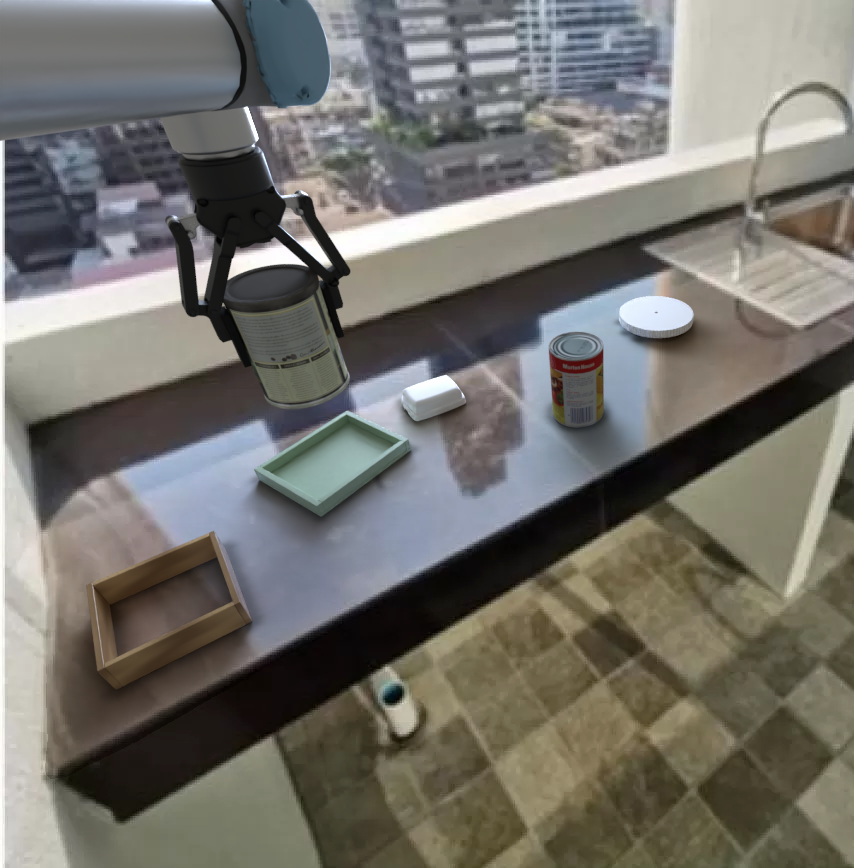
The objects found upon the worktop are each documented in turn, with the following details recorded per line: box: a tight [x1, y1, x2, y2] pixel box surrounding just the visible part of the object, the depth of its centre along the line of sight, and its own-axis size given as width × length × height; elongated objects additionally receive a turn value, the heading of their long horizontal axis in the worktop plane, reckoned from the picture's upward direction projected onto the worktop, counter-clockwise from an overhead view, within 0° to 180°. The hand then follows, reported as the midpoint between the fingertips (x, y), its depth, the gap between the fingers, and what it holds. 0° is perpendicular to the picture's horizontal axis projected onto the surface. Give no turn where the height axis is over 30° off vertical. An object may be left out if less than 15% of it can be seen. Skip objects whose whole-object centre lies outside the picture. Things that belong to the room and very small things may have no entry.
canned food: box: [548, 331, 605, 429], centre depth 90 cm, size 8×8×12 cm
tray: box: [253, 410, 412, 518], centre depth 84 cm, size 16×13×2 cm
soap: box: [400, 374, 467, 422], centre depth 95 cm, size 9×7×3 cm
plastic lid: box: [618, 295, 695, 339], centre depth 115 cm, size 14×14×2 cm
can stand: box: [85, 530, 253, 691], centre depth 65 cm, size 13×13×4 cm
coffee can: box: [223, 263, 351, 410], centre depth 72 cm, size 10×10×14 cm
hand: (293, 347), depth 73 cm, fingers closed on coffee can, 10 cm apart
